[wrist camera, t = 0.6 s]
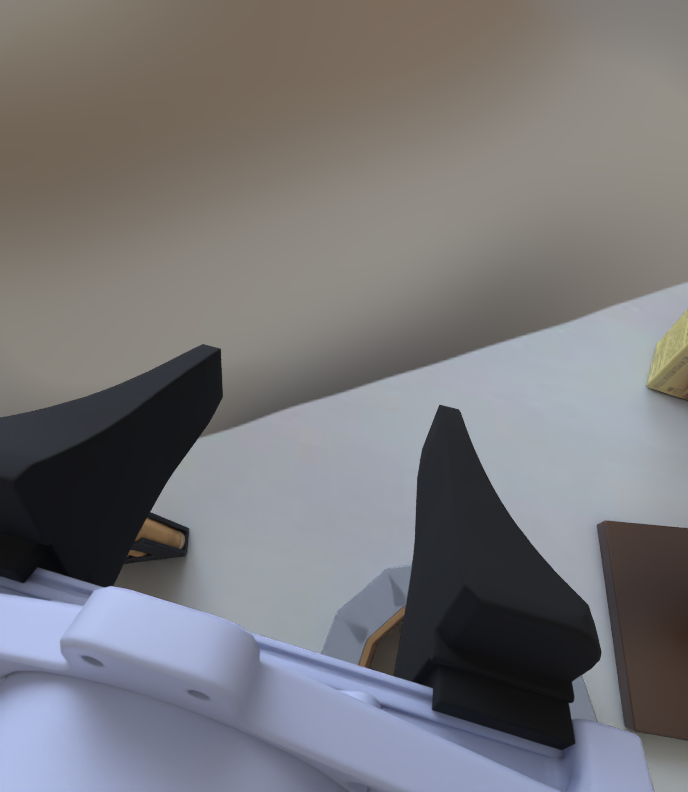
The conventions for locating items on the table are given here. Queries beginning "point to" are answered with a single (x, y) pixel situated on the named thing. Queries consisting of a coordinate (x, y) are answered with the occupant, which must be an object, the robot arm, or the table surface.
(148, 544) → the ammunition clip
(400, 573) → the tape roll
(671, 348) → the candy box
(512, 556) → the robot arm
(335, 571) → the table surface
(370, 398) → the table surface
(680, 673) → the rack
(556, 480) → the table surface
